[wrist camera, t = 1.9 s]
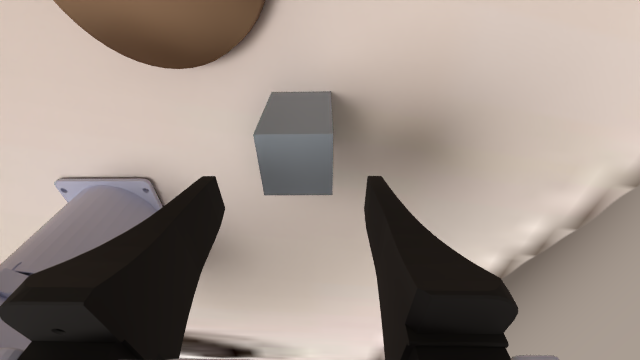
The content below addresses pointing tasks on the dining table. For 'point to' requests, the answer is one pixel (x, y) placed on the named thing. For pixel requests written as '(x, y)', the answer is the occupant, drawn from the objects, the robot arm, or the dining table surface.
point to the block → (296, 144)
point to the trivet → (166, 27)
